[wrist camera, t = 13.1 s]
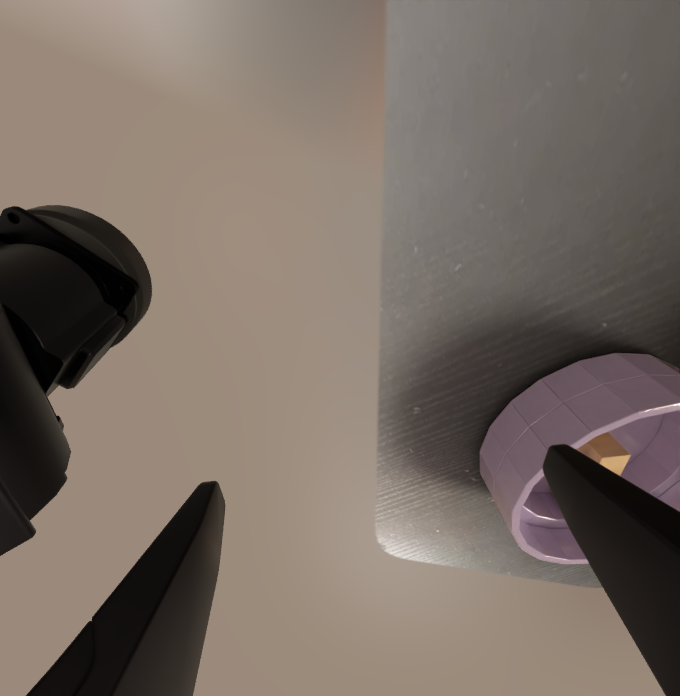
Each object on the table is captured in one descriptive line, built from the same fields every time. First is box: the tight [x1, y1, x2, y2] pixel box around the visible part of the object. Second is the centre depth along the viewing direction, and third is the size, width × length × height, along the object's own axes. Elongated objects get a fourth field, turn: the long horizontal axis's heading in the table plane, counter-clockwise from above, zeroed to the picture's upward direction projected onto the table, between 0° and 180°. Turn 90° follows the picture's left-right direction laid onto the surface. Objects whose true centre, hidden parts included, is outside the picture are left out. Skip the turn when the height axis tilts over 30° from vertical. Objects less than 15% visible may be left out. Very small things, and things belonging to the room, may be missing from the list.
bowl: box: [480, 353, 680, 564], centre depth 25 cm, size 15×15×6 cm
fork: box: [549, 432, 631, 494], centre depth 25 cm, size 11×3×3 cm, turn 3°
